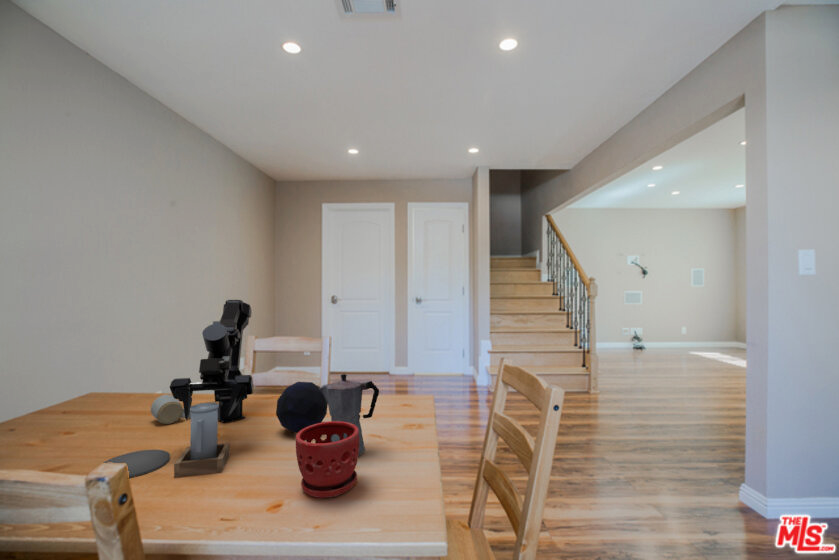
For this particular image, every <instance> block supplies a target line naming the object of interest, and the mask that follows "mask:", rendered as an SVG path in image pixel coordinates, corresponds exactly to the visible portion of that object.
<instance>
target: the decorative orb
mask: <svg viewBox="0 0 839 560" xmlns="http://www.w3.org/2000/svg"><path fill="white" fill-rule="evenodd" d="M320 387H321V386H318V385H317V384H315V383H314V382H311V381H310V382H308V381H297V382H294V383H293V384H290V385H289V386H287V387H286V388H285V389H284V390H283V392H282V393H281V395H279V397H278V398H277V400H276V402H277V403H276V411H275V415H276V418H277V419H278V421H279V424H280V426H281V427H283V429H286V430H288V431H290V432H292V433H295V434H297V433H298V432H299V431H301V430H302V429H304V428H306V427H308V426H311V425H314V424H317V423H322V422H323V421H324V419H325V417H326V416H327V414H328V403H327V401H326V399H325V397H324V395H323V393H322V391H321V390H319V388H320Z"/></svg>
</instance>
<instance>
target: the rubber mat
mask: <svg viewBox="0 0 839 560" xmlns="http://www.w3.org/2000/svg"><path fill="white" fill-rule="evenodd" d="M169 459H171V454H170V452H169V451H166V450H162V449H142V450H137V451H132V452H131V451H130V452H128V453H125V454H121V455H118V456H114V457H112V458H110V459H108V460H106V461H104V462H103V463H107V462H113V463H126V464H127V466H128V471H129V477H130V478H129V479H132V478H135V477H134V476H136V477H139V475H140V476H144V475H146V473H147V474H149V472H150V473H153V472H154V471H157V470H160V469H161V468H163V467H164V466H166V465H167V464H168V463H169V461H170V460H169ZM167 462H168V463H167ZM166 463H167V464H166ZM162 466H163V467H162ZM143 474H144V475H143Z"/></svg>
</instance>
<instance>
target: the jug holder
mask: <svg viewBox="0 0 839 560" xmlns="http://www.w3.org/2000/svg"><path fill="white" fill-rule="evenodd" d="M230 450H231V442H224V443H217V458H209V459H199V460H190V446H187V447H186V448H184V450H183V452H181V454H180V456H179V457H178V458H177V459H176V461H175V462H174V465H173V467H174V468H173V472H174V473H173V477H174V478H180V477H189V476H199V475H206V474H207V475H208V474H210V475H211V474H217V473H222V472H223V470H224V468H225V466H226V464H227V462H228V459H229V457H230V455H231V451H230Z"/></svg>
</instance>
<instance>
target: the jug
mask: <svg viewBox="0 0 839 560" xmlns="http://www.w3.org/2000/svg"><path fill="white" fill-rule="evenodd" d="M218 408H219V402H215V401H214V402H212V401H211V402H202V403H197V404H196V403H195V404H193V405H191V407H190V412H191V418H190V439H189V440H190V441H189V442H190V445H189V447H190V460H199V459H209V458H217V444H218V424H219V423H218V421H219V420H218Z"/></svg>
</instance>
